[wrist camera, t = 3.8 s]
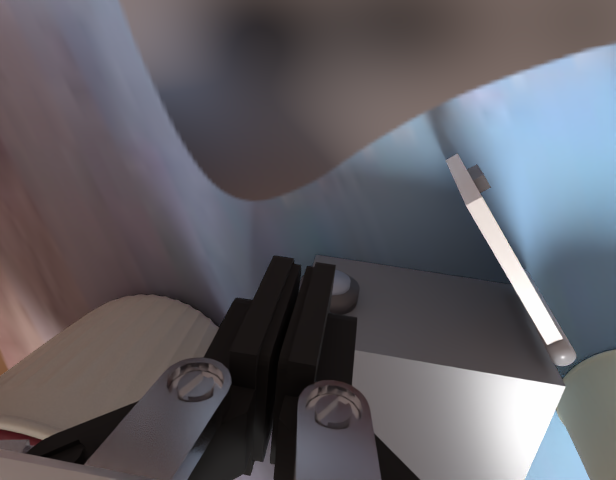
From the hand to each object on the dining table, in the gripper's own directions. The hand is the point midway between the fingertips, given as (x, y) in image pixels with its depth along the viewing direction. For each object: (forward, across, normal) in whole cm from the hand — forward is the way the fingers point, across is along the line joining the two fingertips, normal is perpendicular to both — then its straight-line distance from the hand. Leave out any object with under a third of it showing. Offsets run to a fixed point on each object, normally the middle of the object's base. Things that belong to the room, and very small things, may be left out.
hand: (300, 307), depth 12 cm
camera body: (+19, -6, +14) cm, 24 cm away
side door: (+19, -10, +4) cm, 21 cm away
